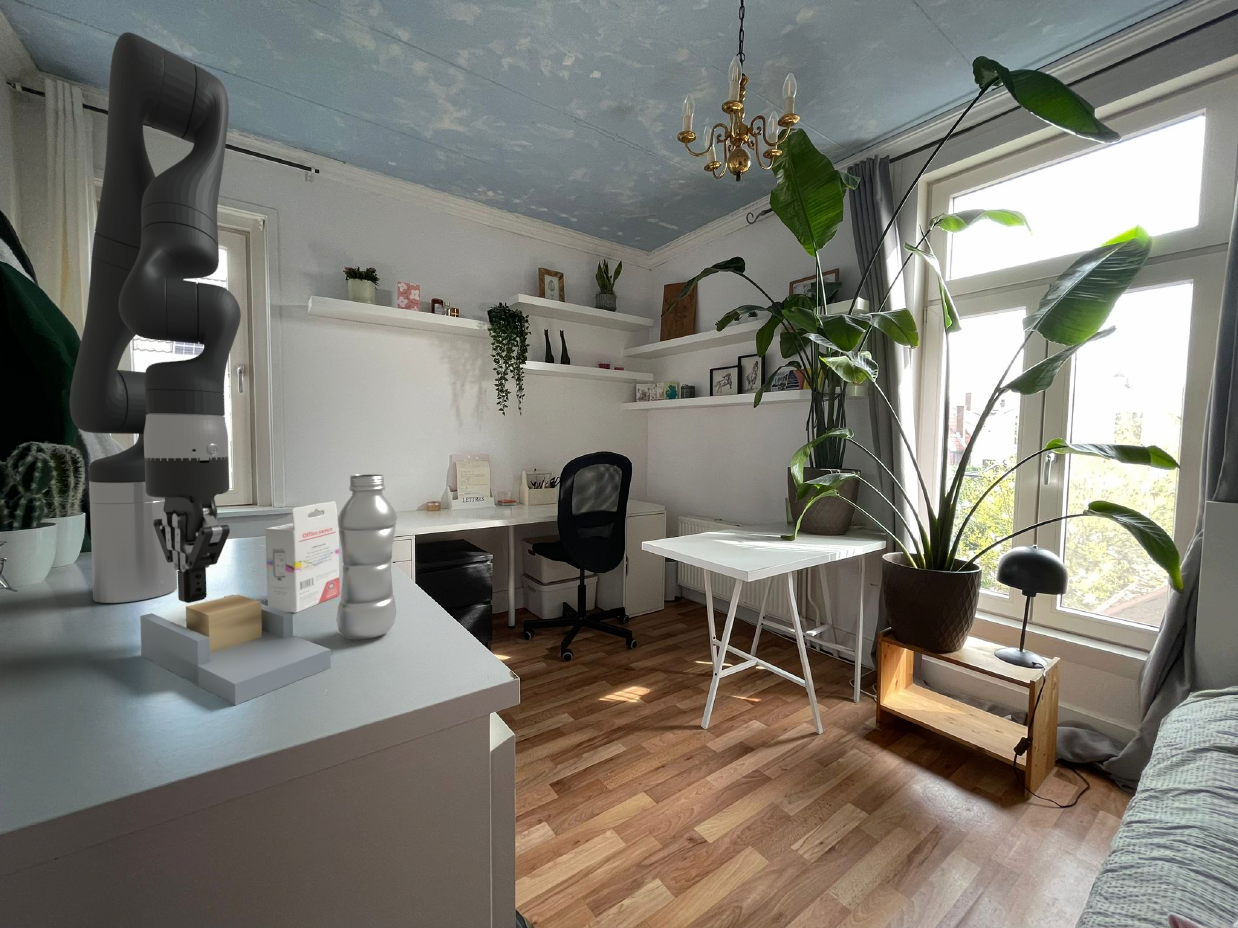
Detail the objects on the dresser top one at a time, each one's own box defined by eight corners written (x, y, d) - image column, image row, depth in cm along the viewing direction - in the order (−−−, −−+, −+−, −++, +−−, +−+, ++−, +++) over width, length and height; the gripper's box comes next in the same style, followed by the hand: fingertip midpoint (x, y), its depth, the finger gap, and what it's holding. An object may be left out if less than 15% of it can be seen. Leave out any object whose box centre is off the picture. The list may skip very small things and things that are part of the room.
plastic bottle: (328, 635, 64) (327, 474, 62) (384, 621, 69) (383, 472, 67) (348, 651, 59) (347, 478, 58) (405, 635, 64) (405, 476, 63)
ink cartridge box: (313, 592, 80) (312, 498, 79) (340, 595, 79) (340, 500, 78) (264, 610, 72) (263, 506, 71) (295, 614, 71) (294, 508, 70)
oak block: (186, 642, 56) (185, 606, 56) (238, 627, 60) (237, 594, 60) (209, 652, 53) (208, 615, 53) (261, 636, 58) (261, 601, 58)
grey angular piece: (141, 655, 57) (140, 615, 56) (233, 629, 65) (233, 594, 64) (235, 705, 47) (234, 657, 47) (330, 667, 55) (330, 626, 55)
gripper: (121, 453, 60) (126, 600, 61) (175, 456, 53) (181, 619, 54) (198, 452, 66) (202, 584, 67) (254, 454, 60) (258, 600, 61)
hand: (192, 600), depth 61 cm, fingers closed
